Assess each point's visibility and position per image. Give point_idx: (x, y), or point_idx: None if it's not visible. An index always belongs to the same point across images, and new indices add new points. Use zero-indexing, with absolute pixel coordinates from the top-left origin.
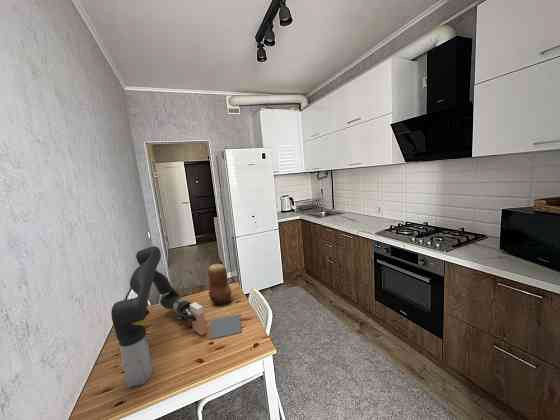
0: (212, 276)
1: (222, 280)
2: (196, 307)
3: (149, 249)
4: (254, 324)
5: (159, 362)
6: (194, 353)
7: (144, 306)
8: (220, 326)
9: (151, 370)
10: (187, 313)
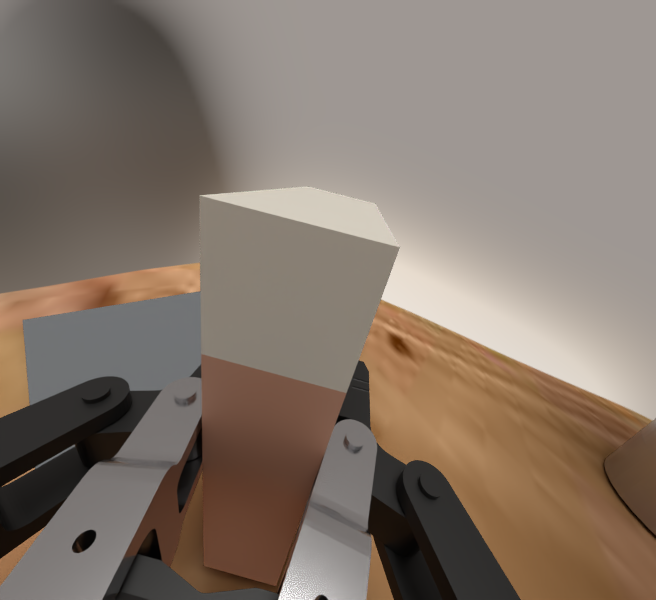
0: None
1: None
2: (359, 203)
3: None
4: (163, 273)
5: (593, 515)
6: (400, 379)
7: None
8: (186, 364)
9: (620, 451)
10: (363, 565)
